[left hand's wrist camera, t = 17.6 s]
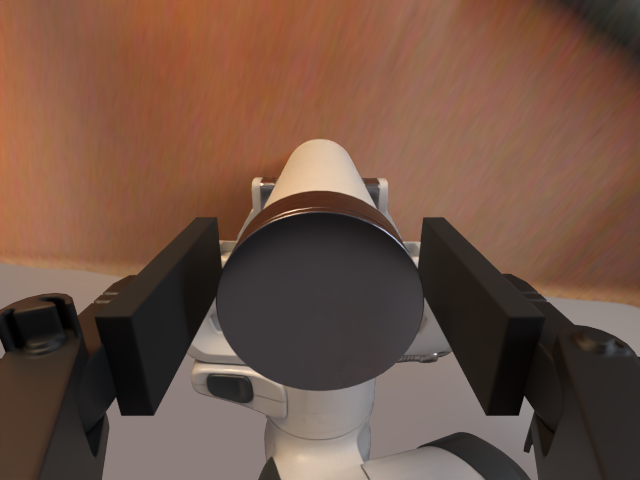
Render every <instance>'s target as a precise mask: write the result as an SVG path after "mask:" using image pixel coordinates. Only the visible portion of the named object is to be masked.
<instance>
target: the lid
mask: <svg viewBox="0 0 640 480" xmlns="http://www.w3.org/2000/svg"><path fill="white" fill-rule="evenodd" d="M216 311H217V317H218V321H219V325H220V328H221V330H222V332H223V335H224V337H225V339H226V341H227V342H228V344H229V346H230V347H231V349H232V350H233V351H234V352H235V354H236V355H237V356H238V357H239V358H240V359H241V360H242V361H243V362H244V363H245V364H246V365H247V366H249V367H250V368H251V369H252V370H254V371H255V372H257V373H258V374H260V375H262V376H263V377H265V378H267V379H269V380H271V381H273V382H276V383H278V384H281V385H284V386H287V387H291V388H296V389H300V390H309V391H331V390H339V389H344V388H349V387H353V386H356V385H359V384H362V383H364V382H367V381H369V380H371V379H373V378H375V377H377V376H378V375H380V374H382V373H384V372H385V371H386V370H388V369H389V368H390V367H392V366H393V365H394V364H395V363H396V362H397V361H398V360H399V359H400V358H401V357H402V356H403V355H404V354H405V353H406V351H407V350H408V349H409V347H410V346H411V344H412V343H413V341H414V339H415V337H416V335H417V333H418V331H419V328H420V325H421V322H422V318H423V312H424V289H423V283H422V280H421V277H420V274H419V271H418V268H417V266H416V265H415V263H414V261H413V259H412V257H411V255H410V254H409V252H408V250H407V248H406V247H405V245H404V243H403V241H402V240H401V238H400V236H399V234H398V233H397V231H396V230H395V228H394V227H393V225H392V224H391V223H390V221H389V220H388V219H387V218H386V217H385V216H384V215H383V214H382V213H381V212H379V211H378V210H377V209H376V208H374V207H373V206H371V205H370V204H368V203H366V202H365V201H363V200H361V199H358V198H356V197H354V196H351V195H347V194H344V193H340V192H333V191H307V192H301V193H297V194H293V195H289V196H287V197H284V198H282V199H279V200H277V201H276V202H274V203H272V204H270V205H269V206H267V207H266V208H265V209H263V210H262V211H261V212H259V213H258V214H257V215H256V216H255V217H254V218H253V219H252V220H251V222H250V223H249V224H248V226H247V227H246V228H245V230H244V231H243V233H242V235H241V237H240V238H239V240H238V242H237V244H236V245H235V247H234V249H233V251H232V252H231V254H230V256H229V258H228V259H227V261H226V263H225V265H224V267H223V269H222V272H221V274H220V277H219V280H218V285H217V290H216Z"/></svg>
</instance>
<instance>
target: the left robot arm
mask: <svg viewBox="0 0 640 480" xmlns="http://www.w3.org/2000/svg"><path fill="white" fill-rule="evenodd" d="M418 271H419V274H420V277H421V280H422V283H423V289H424V298H425V300H426V301H427V303H428V305H429V307H430V309H431V311H432V313H433V315H434V317H435V319H436V321H437V322H438V324H439V326H440V328H441V330H442V332H443V334H444V336H445V338H446V340H447V342H448V343H449V345H450V347H451V349H452V351H453V353H454V355H455V357H456V359H457V361H458V363H459V364H460V366H461V368H462V370H463V372H464V374H465V376H466V378H467V380H468V382H469V384H470V385H471V387H472V389H473V391H474V393H475V395H476V397H477V399H478V401H479V403H480V405H481V406H482V408H483V410H484V412H485V414H486V416H519V413H520V409H521V405H522V402H523V398H524V396H525V397H526V399H527V400H528V402H529V403H530V404H531V406H532V407H533V409H534V410H535V411H534V414H533V417H532V421H531V424H530V428H529V431H528V434H527V438H526V441H525V445H524V452H527V453H529V451H530V448H531V445H532V444H533V446H534V452H535V459H536V466H537V473H538V480H640V357H637V355H636V354H635V352H634V351H633V350H632V349H631V348H630V346H629V345H628V344H627V343H625V342H623V341H622V340H620V339H619V338H617V337H616V336H614V335H611V334H609V333H607V332H604V331H602V330H599V329H595V328H592V327H588V326H580V325H574V324H573V323H572V322H571V321H570V320H569V319H567V318H566V317H565V316H564V315H563V314H562V313H561V312H559V311H558V310H557V309H556V308H555V307H554V306H553V305H552V304H551V303H549V302H547V300H546V299H545V298H544V297H543V296H542V295H540V294H538V293H537V291H536V290H535V289H534V288H533V287H531V286H530V285H529V284H528V283H527V282H525V281H523V280H521V279H519V278H517V277H515V276H513V275H512V274H501V273H500V272H499V271H498V270H497V269H496V268H495V267H494V266H493V265H492V264H491V263H490V262H489V261H488V260H487V259H486V258H485V257H484V256H483V255H482V254H481V253H480V252H479V251H478V250H476V249H475V248H474V247H473V246H472V245H471V244H470V243H469V242H468V241H467V240H466V239H465V238H464V237H463V236H462V235H461V234H460V233H459V232H458V231H457V230H456V229H455V228H454V227H453V226H452V225H451V224H450V223H449V222H448V221H447V220H445V219H444V218H423V225H422V234H421V243H420V251H419V260H418ZM221 272H222V260H221V251H220V243H219V234H218V225H217V218H196V219H195V220H193V221H192V222H191V223H190V224H189V225H188V226H187V227H186V228H185V229H184V230H183V231H182V232H181V233H180V234H179V235H178V236H177V237H176V238H175V239H174V240H173V241H172V242H171V243H170V244H169V245H168V246H167V247H166V248H165V249H164V250H162V251H161V252H160V253H159V254H158V255H157V256H156V257H155V258H154V259H153V260H152V261H151V262H150V263H149V264H148V265H147V266H146V267H145V268H144V269H143V270H142V271H141V272H140V273H139V274H138V275H129V276H127V277H125V278H123V279H121V280H119V281H118V282H116V283H114V284H113V285H111V286H110V287H109V288H108V289H107V290H106V291H105V292H104V293H103V295H100V296H99V297H98V298H97V299H96V300H95V301H94V303H92V304H90V305H89V306H88V307H87V308H86V309H85V310H84V311H82V312H81V313H80V314H79V315H78V316H77V313H76V309H75V306H74V302H73V299H72V297H70V296H68V295H67V294H60V293H51V294H42V295H37V296H33V297H29V298H25V299H23V300H20V301H17V302H15V303H12V304H10V305H8V306H7V307H5V308H3V309H1V310H0V340H1V342H2V344H3V347H4V349H5V352H6V353H5V354H4V356H3V358H2V359H0V480H102V474H103V467H104V460H105V454H106V447H107V440H108V433H109V422H108V417H107V414H106V411H107V409H108V408H109V406H110V405H111V403H112V402H113V401H114V399H115V398H117V402H118V405H119V409H120V412H121V415H122V416H153V415H154V414H155V412H156V410H157V408H158V406H159V404H160V403H161V401H162V399H163V397H164V395H165V393H166V391H167V389H168V387H169V385H170V384H171V382H172V380H173V378H174V376H175V374H176V372H177V370H178V368H179V366H180V364H181V363H182V361H183V359H184V357H185V355H186V353H187V351H188V349H189V347H190V345H191V343H192V342H193V340H194V338H195V336H196V334H197V332H198V330H199V328H200V326H201V324H202V322H203V321H204V319H205V317H206V315H207V313H208V311H209V309H210V307H211V305H212V303H213V301H214V300H215V298H216V290H217V285H218V280H219V277H220V274H221Z"/></svg>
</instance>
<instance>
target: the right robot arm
mask: <svg viewBox="0 0 640 480" xmlns="http://www.w3.org/2000/svg"><path fill="white" fill-rule="evenodd" d="M277 181H278V178H263V177H257V178H254V180H253V181H252V202H253V209H252V211H251V212H250V214H249V216H248V218H247V220H246V222H245V224H244V225H243V227H242V229H241V231H240V233H239V235H238V237H237V241H223V240H219V243H220V251H221V260H222V269H223V267H224V265H225V263H226V261H227V259H228V258H229V256H230V254H231V252H232V251H233V249H234V247H235V245H236V244H237V242H238V240H239V238H240V237H241V235H242V233H243V231H244V230H245V228H246V227H247V226H248V224H249V223H250V222H251V220H252V219H253V218H254V217H255V216H256V215H257V214H258V213H259V212H261V211H262V210H263V208H264V207H265V205H266V203H267V201H268V199H269V197H270V195H271V193H272V191H273V189H274V187H275V185H276V183H277ZM362 181H363V183H364V185H365V187H366V189H367V191H368V193H369V195H370V197H371V199H372V200H373V202H374V204H375V206H376V208H377V210H378V211H379V212H381V213H382V214H383V215H384V216H385V217H386V218H387V219H388V220H389V221H390V223H391V224H392V225H393V227H394V228H395V230H396V231H397V233H398V234H399V232H398V230H397V228H396V226H395V224H394V222H393V220H392V218H391V216H390V214H389V212H388V211H387V199H388V182H387V181H386V179H385V178H362ZM399 236H400V234H399ZM400 238H401V236H400ZM401 240H402V238H401ZM403 243H404V245H405V247H406V248H407V250H408V252H409V254H410V255H411V257H412V259H413V261H414V263H415V265H416V266H417V268H418V260H419V251H420V243H421V242H403ZM450 352H453V351H452V349H451V347H450V345H449V343H448V342H447V340H446V338H445V336H444V334H443V332H442V330H441V328H440V326H439V324H438V322H437V321H436V319H435V317H434V315H433V313H432V311H431V309H430V307H429V305H428V303H427V301H426V300H425V298H424V312H423V318H422V322H421V325H420V328H419V331H418V333H417V335H416V337H415V339H414V341H413V343H412V344H411V346H410V347H409V349H408V350H407V351H406V353H405V354H404V355H403V356H402V357H401V358H400V359H399V360H398V361H397V362H396V363H400V362H408V361H419V362H421V363H431V362H435V361H437V359H438V357H442V356H445V355H447V354H449V353H450ZM187 354H188V355H190V356H191V357H193V358H195V362H194V366H193V369H192V373H191V383H192V386H193V388H194V390H195V391H196V392H198V393H200V394H202V395H206V396H210V397H213V398H218V399H221V400H225V401H229V402H232V403H236V404H239V405H242V406H245V407H248V408H251V409H253V410H256V411H258V412H261V413H263V414H265V415H266V417H267V424H266V428H265V438H264V439H265V454H266V464H265V466H264V468H263V470H262V472H261V474H260V477H259V479H258V480H531V479H530V478H529V477H528V475H527V474H526V473H525V472H524V471H523V470H522V468H521V467H520V466H519V465H518V464H517V463H515V462H514V461H513V460H512V459H511V458H510V457H509V456H507V455H506V454H505V453H503V452H502V451H501V450H499V449H498V448H496V447H494V446H493V445H491V444H490V443H488V442H486V441H484V440H483V439H481V438H479V437H477V436H475V435H472V434H470V433H465V432H458V433H454V434H452V435H449V436H446V437H443V438H441V439H438V440H435V441H432V442H430V443H427V444H424V445H421V446H419V447H418V448H417V449H413V450H409V451H405V452H401V453H397V454H393V455H389V456H385V457H381V458H376V459H372V460H369V453H370V442H371V435H370V427H369V423H368V420H369V417H370V415H371V413H372V409H373V405H374V394H375V382H376V377H375V378H373V379H371V380H369V381H367V382H364V383H362V384H359V385H356V386H353V387H349V388H344V389H339V390H331V391H309V390H300V389H296V388H291V387H287V386H284V385H281V384H278V383H276V382H273V381H271V380H269V379H267V378H265V377H263V376H262V375H260V374H258V373H257V372H255V371H254V370H252V369H251V368H250V367H249V366H247V365H246V364H245V363H244V362H243V361H242V360H241V359H240V358H239V357H238V356H237V355H236V354H235V352H234V351H233V350H232V349H231V347H230V346H229V344H228V342H227V341H226V339H225V337H224V335H223V332H222V330H221V328H220V325H219V321H218V317H217V311H216V298H215V300H214V301H213V303H212V305H211V307H210V309H209V311H208V313H207V315H206V317H205V319H204V321H203V322H202V324H201V326H200V328H199V330H198V332H197V334H196V336H195V338H194V340H193V342H192V343H191V345H190V347H189V349H188V351H187Z"/></svg>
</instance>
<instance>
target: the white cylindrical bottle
mask: <svg viewBox="0 0 640 480" xmlns="http://www.w3.org/2000/svg"><path fill="white" fill-rule="evenodd" d="M307 191H333V192H340V193H344V194H347V195H351V196H354V197H356V198H358V199H361V200H363V201H365V202H366V203H368V204H370V205H371V206H373V207H374V208H376V206H375V204H374V202H373V200H372V199H371V197H370V195H369V193H368V191H367V189H366V187H365V185H364V183H363V181H362V179H361V177H360V175H359V173H358V171H357V170H356V168H355V166H354V164H353V162H352V160H351V158H350V156H349V154H348V153H347V152H346V151H345V150H344V149H343V148H342V147H341V146H340V145H338V144H336V143H335V142H332V141H329V140H324V139H316V140H311V141H308V142H305V143H303V144H302V145H300V146H299V147H298V148H296V149H295V151H294V152H293V153H292V154H291V156H290V158H289V160H288V162H287V164H286V166H285V167H284V169H283V171H282V173H281V175H280V177H279V179H278V181H277V183H276V185H275V187H274V189H273V191H272V193H271V195H270V197H269V199H268V201H267V203H266V205H265V207H264V208H263V209H265V208H266V207H267V206H269V205H270V204H272V203H274V202H276V201H277V200H279V199H282V198H284V197H287V196H289V195H293V194H297V193H301V192H307ZM376 209H377V208H376Z"/></svg>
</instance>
